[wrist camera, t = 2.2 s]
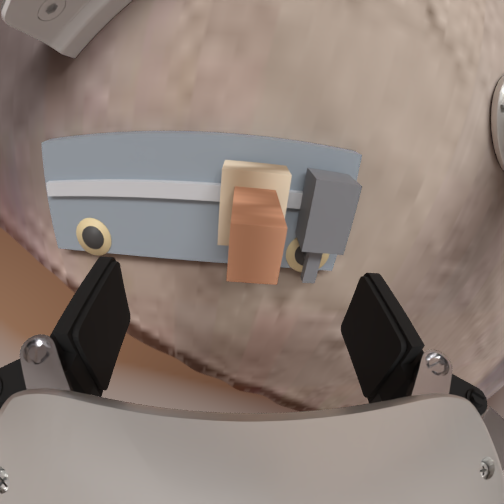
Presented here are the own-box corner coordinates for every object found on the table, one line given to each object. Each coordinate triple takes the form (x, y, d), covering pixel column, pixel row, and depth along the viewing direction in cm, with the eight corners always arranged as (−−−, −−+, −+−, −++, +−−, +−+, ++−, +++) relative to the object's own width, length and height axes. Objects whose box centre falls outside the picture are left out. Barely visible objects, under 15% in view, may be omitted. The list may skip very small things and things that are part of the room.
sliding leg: (285, 163, 18) (310, 208, 11) (268, 268, 22) (277, 345, 16) (225, 158, 18) (212, 199, 11) (218, 264, 22) (209, 341, 15)
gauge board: (354, 150, 19) (381, 166, 15) (327, 263, 24) (341, 297, 20) (51, 138, 17) (17, 152, 13) (66, 242, 23) (42, 270, 19)
